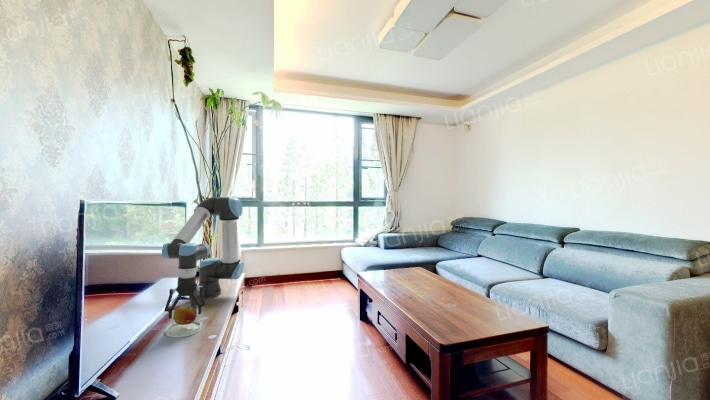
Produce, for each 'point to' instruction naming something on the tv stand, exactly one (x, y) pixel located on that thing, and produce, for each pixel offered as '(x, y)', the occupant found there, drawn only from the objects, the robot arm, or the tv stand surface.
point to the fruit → (185, 315)
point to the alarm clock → (196, 296)
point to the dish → (183, 329)
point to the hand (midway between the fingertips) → (184, 323)
